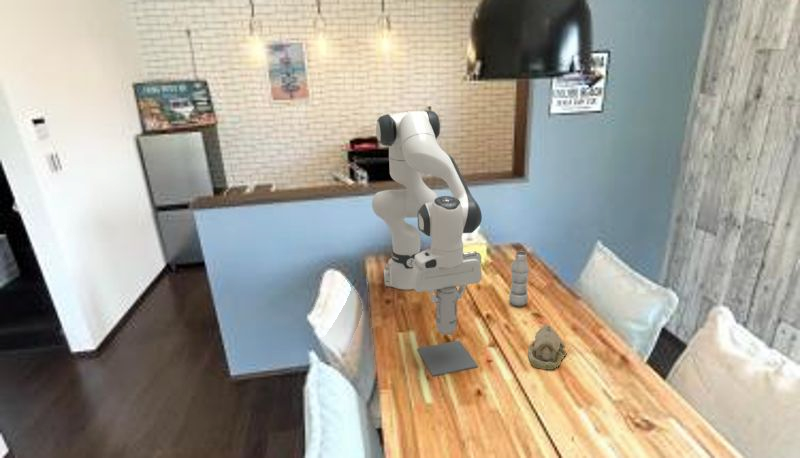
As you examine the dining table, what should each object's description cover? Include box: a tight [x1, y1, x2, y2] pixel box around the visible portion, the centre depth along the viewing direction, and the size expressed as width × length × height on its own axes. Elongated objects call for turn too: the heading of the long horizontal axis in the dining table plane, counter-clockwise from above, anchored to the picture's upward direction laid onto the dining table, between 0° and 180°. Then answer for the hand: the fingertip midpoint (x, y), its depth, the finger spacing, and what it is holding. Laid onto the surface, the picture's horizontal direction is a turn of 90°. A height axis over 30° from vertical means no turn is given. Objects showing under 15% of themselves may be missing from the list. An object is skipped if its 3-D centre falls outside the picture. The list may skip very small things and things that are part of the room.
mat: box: [416, 340, 479, 377], centre depth 138 cm, size 14×14×1 cm
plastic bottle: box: [508, 251, 530, 307], centre depth 166 cm, size 6×7×20 cm
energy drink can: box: [435, 286, 459, 336], centre depth 133 cm, size 6×6×15 cm
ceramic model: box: [527, 324, 567, 370], centre depth 136 cm, size 14×11×10 cm
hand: (446, 300), depth 132 cm, fingers closed on energy drink can, 6 cm apart
